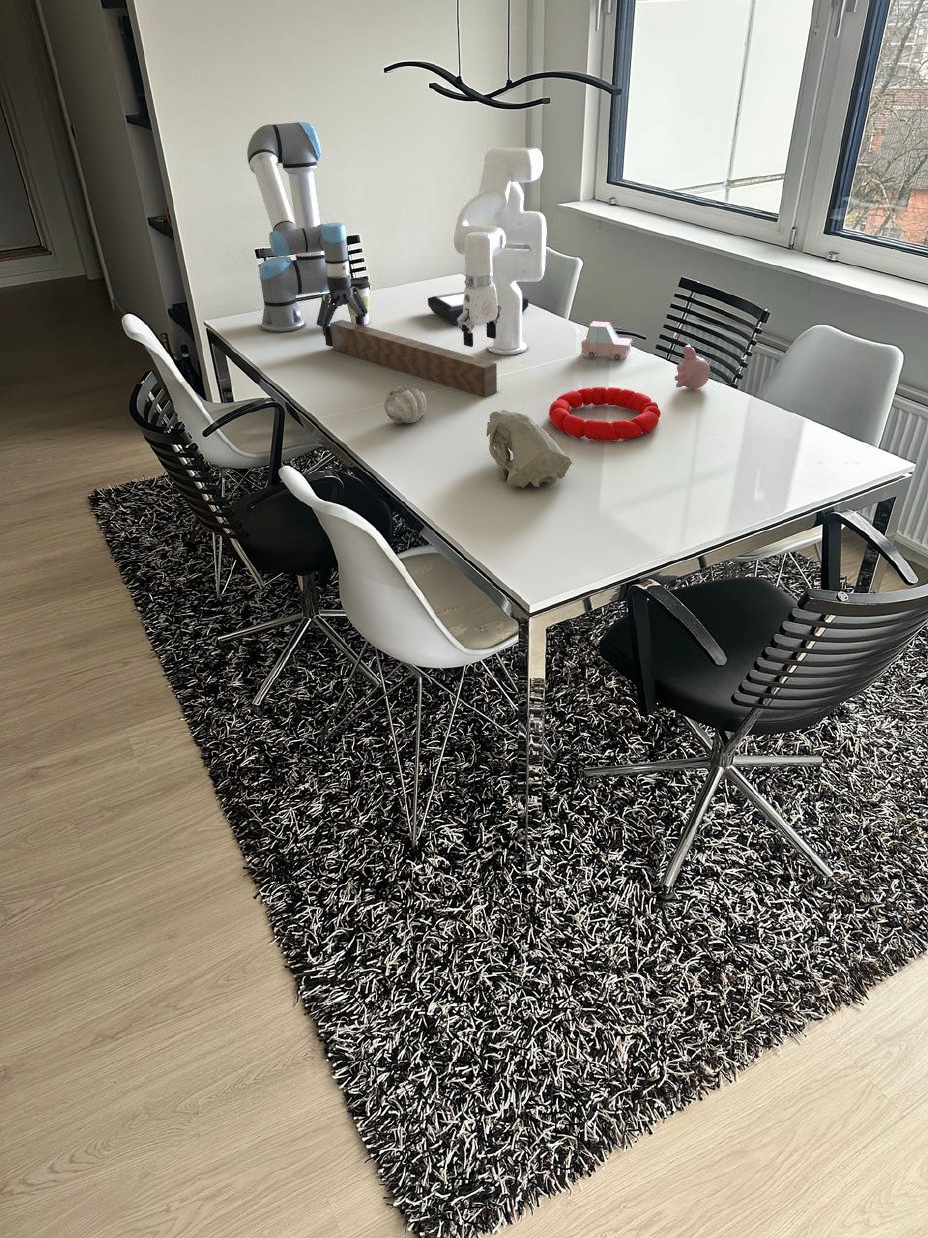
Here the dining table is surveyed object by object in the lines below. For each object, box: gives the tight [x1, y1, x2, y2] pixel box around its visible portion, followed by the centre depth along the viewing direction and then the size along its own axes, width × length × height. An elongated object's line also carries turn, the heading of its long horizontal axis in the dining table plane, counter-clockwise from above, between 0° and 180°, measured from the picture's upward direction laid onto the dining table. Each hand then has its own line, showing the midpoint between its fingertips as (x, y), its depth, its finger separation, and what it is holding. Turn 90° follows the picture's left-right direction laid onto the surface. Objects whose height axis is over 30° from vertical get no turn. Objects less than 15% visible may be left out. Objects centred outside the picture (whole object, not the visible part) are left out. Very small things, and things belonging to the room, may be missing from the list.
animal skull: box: [485, 409, 573, 489], centre depth 216 cm, size 17×25×20 cm
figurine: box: [674, 344, 711, 390], centre depth 259 cm, size 9×11×12 cm
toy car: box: [580, 320, 633, 361], centre depth 286 cm, size 9×15×10 cm, turn 70°
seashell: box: [383, 386, 427, 424], centre depth 244 cm, size 10×15×10 cm
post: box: [329, 319, 498, 398], centre depth 282 cm, size 71×5×9 cm, turn 46°
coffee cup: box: [346, 277, 371, 326], centre depth 323 cm, size 10×10×15 cm
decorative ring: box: [548, 386, 661, 442], centre depth 242 cm, size 7×30×30 cm
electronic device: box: [427, 291, 529, 325], centre depth 331 cm, size 32×6×20 cm
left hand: (345, 340), depth 301 cm, fingers open, 13 cm apart
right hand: (480, 341), depth 258 cm, fingers open, 9 cm apart
